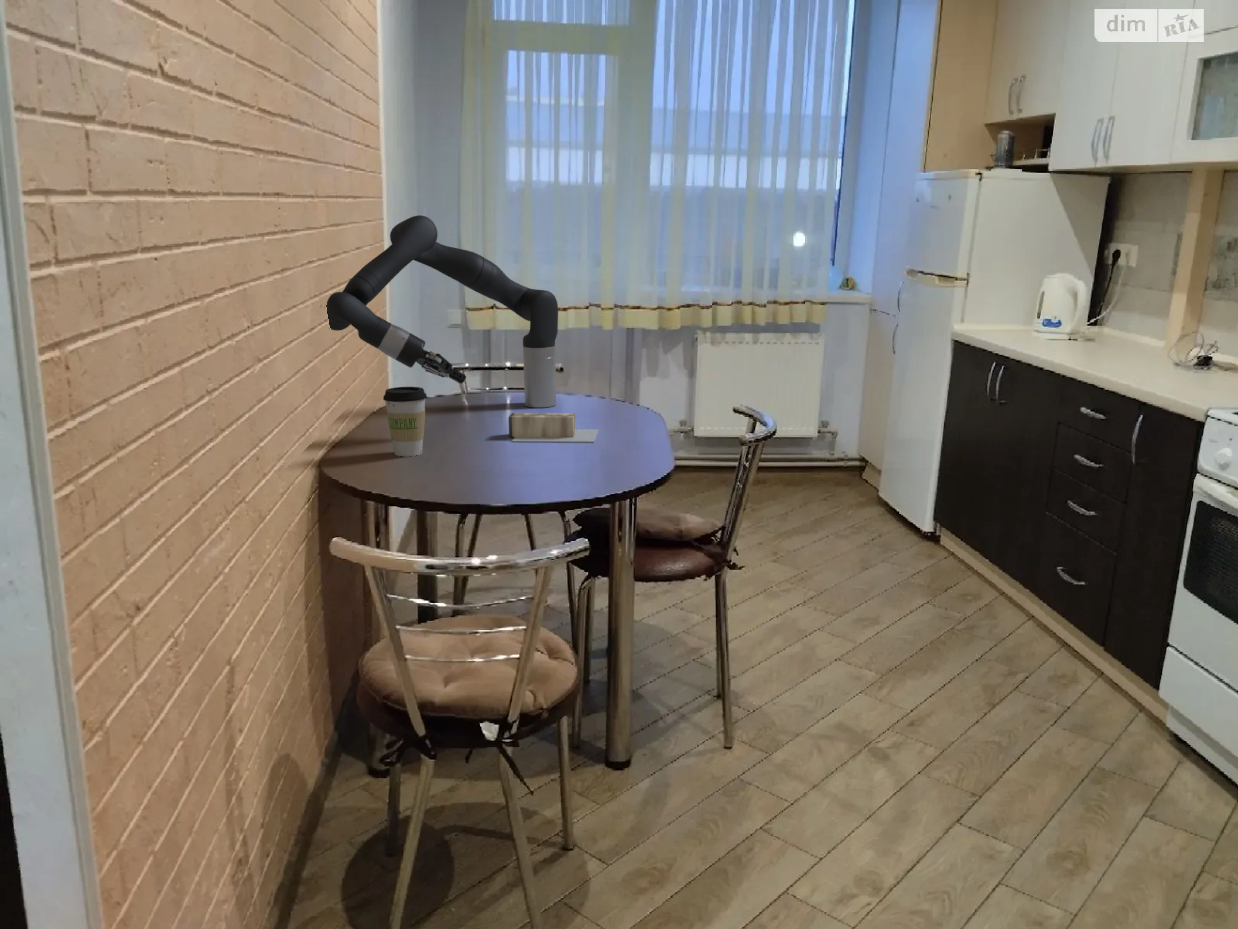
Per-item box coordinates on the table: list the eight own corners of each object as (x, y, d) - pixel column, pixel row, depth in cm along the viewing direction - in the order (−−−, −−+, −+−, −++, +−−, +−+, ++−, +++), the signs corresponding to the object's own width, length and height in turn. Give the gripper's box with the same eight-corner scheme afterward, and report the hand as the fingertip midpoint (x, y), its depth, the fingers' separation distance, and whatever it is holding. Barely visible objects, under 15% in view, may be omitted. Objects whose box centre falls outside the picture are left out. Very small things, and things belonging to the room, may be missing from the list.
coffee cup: (378, 454, 225) (373, 390, 222) (413, 446, 232) (409, 384, 229) (403, 460, 219) (399, 394, 215) (438, 453, 226) (435, 389, 222)
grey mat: (521, 430, 250) (521, 428, 250) (598, 430, 249) (598, 429, 249) (512, 442, 237) (512, 440, 237) (593, 442, 236) (593, 441, 236)
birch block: (511, 413, 245) (575, 413, 244) (512, 432, 246) (575, 432, 245) (508, 416, 240) (573, 417, 239) (509, 436, 241) (573, 437, 240)
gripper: (412, 326, 233) (476, 362, 237) (404, 337, 245) (465, 371, 250) (397, 353, 231) (462, 389, 236) (390, 363, 243) (452, 397, 248)
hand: (464, 380), depth 243 cm, fingers closed
